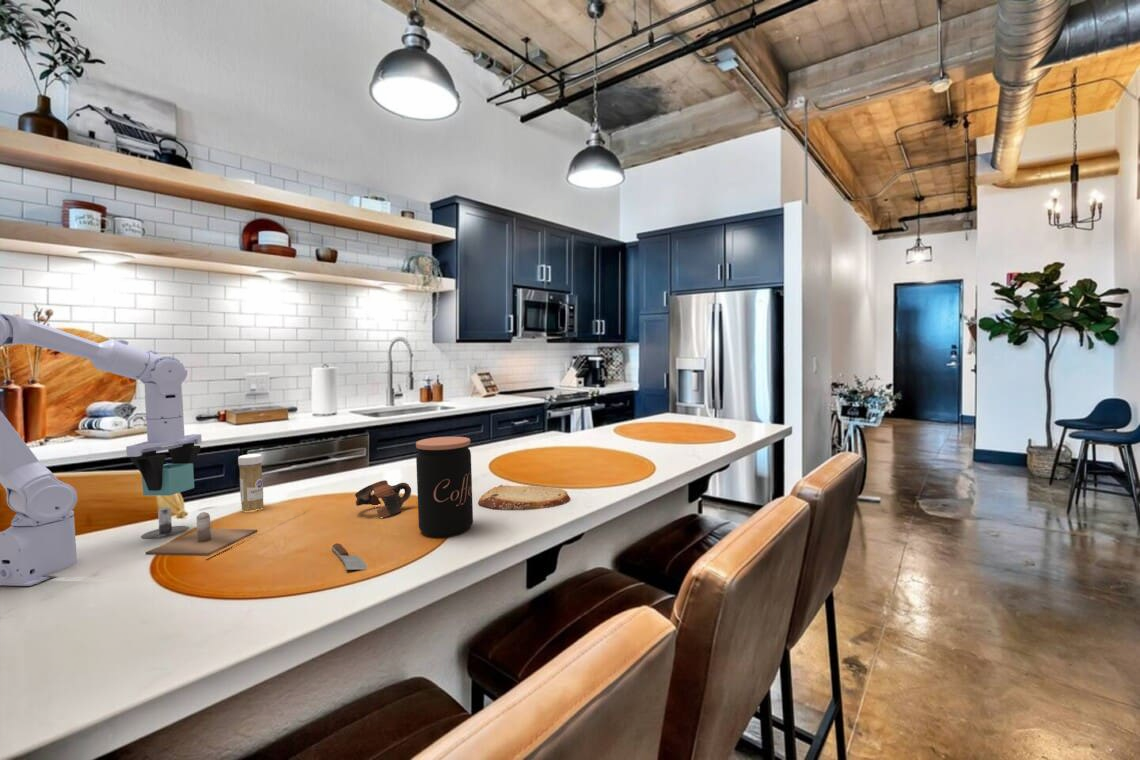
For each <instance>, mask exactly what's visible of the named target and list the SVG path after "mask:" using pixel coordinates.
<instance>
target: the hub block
mask: <svg viewBox="0 0 1140 760" xmlns="http://www.w3.org/2000/svg"><path fill="white" fill-rule="evenodd" d="M256 533H258V529H246V528H245V529H244V528H243V529H238V528H237V529H236V528H235V529H234V528H231V529H230V528H229V529H228V528H224V529H223V528H219V529H218V528H211V515H210V513H208V512H205V511H203V512H200V513H199V514H197V516H196V531H194V532H191V533H189V534H186V535H184V536H181V537H178V538H177V539H173V540H172V541H170V542H167V543H164V544H162V545H159V546H157V547H155V548H152V549H149V550H148V551H145V555H148V556H149V555H150V556H151V555H153V556H203V557H204V556H205V557H208V556H210V557H208V558H206V559H205V561H209V560H211V559H213V558H215V557H217V556H219V555H221V554H223V553H225V552H227V551H229V550H231V549H233V548H232V547H233V546H235V545H237V544H238V543H239V542H240V541H241V540H244V539H245V538H248V537H250V536H252V535H255V534H256ZM235 543H237V544H235ZM233 544H235V545H233ZM231 545H232V546H231ZM227 547H228V548H227ZM225 548H227V549H225ZM230 548H231V549H230ZM223 549H224V550H223ZM228 549H229V550H228ZM220 550H223V551H221V552H219V551H220ZM226 550H227V551H226ZM224 551H225V552H224ZM217 552H219V553H217ZM222 552H223V553H222ZM214 553H216V554H214ZM220 553H221V554H220ZM213 554H214V555H213ZM218 554H219V555H218ZM216 555H217V556H216ZM214 556H215V557H214ZM212 557H213V558H212ZM210 558H211V559H210Z"/></svg>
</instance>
